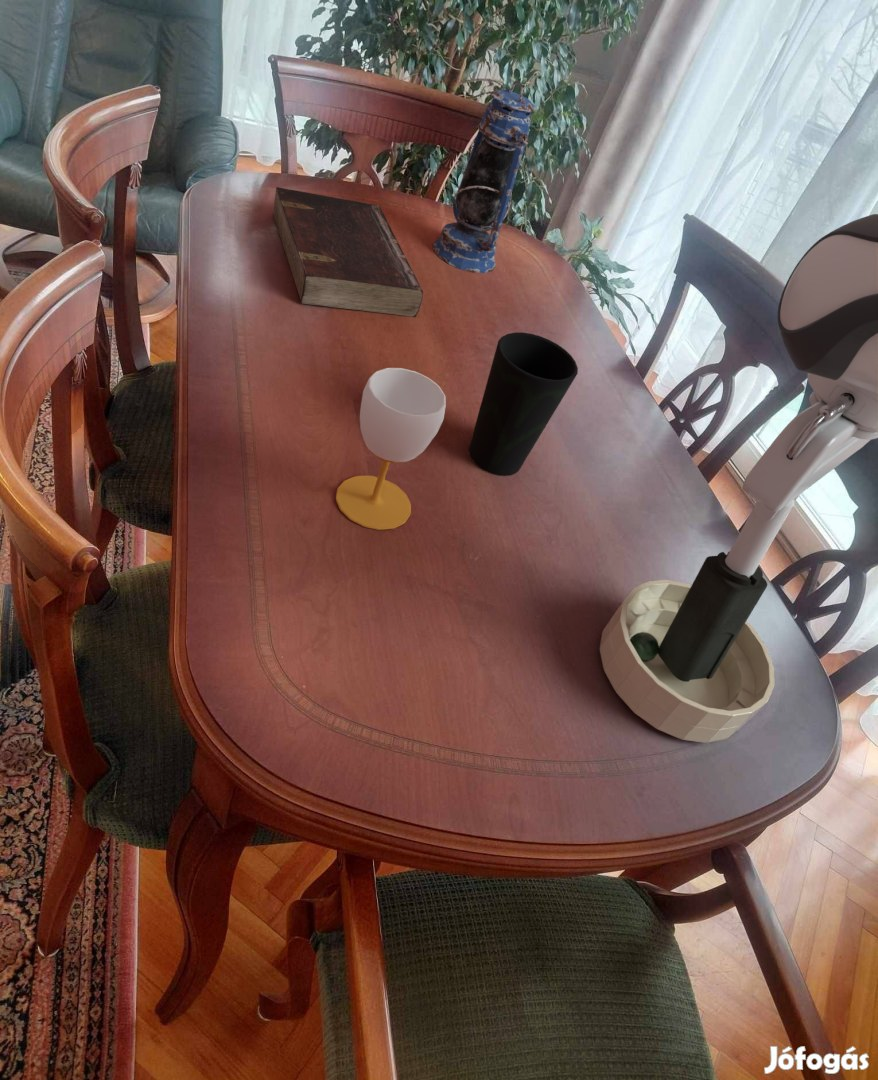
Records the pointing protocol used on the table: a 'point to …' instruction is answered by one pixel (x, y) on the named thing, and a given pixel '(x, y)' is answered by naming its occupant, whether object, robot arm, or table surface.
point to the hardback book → (344, 254)
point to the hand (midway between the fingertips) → (772, 506)
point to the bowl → (667, 700)
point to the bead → (645, 646)
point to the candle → (720, 602)
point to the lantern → (487, 183)
